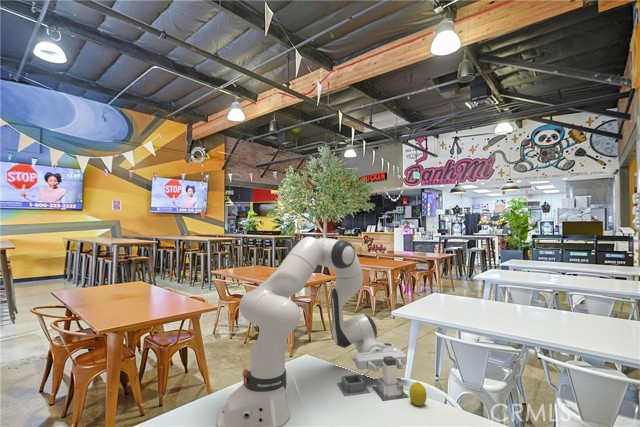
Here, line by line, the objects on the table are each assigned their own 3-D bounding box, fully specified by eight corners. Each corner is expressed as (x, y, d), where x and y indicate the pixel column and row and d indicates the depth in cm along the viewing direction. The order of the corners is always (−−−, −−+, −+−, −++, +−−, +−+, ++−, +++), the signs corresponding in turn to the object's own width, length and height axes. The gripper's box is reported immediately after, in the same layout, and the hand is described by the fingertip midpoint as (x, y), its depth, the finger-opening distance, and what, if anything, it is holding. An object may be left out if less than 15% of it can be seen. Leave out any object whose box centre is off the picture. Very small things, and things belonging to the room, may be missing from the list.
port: (382, 404, 108) (382, 390, 109) (371, 389, 118) (371, 377, 118) (409, 400, 111) (409, 387, 111) (396, 386, 120) (396, 374, 121)
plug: (387, 395, 112) (387, 360, 113) (383, 389, 116) (382, 356, 116) (396, 393, 113) (396, 359, 114) (392, 388, 117) (391, 355, 117)
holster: (344, 399, 111) (344, 387, 112) (336, 385, 121) (336, 374, 121) (370, 395, 114) (370, 384, 114) (360, 382, 123) (360, 371, 124)
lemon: (427, 412, 104) (427, 387, 104) (410, 410, 105) (409, 385, 105) (425, 402, 109) (425, 379, 110) (408, 401, 110) (408, 377, 111)
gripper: (349, 347, 127) (362, 362, 113) (396, 343, 131) (413, 356, 118) (349, 363, 126) (362, 380, 113) (396, 358, 131) (414, 374, 118)
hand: (389, 368), depth 115 cm, fingers open, 8 cm apart
